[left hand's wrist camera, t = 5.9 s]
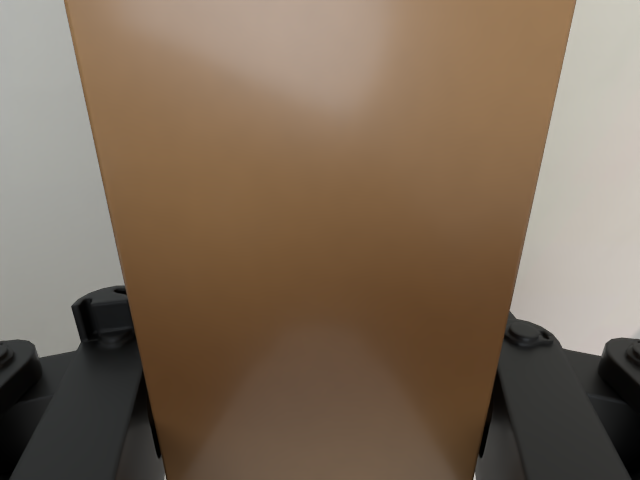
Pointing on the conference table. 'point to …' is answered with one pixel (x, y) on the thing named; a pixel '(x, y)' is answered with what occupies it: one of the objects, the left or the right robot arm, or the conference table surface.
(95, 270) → the conference table surface
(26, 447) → the left robot arm
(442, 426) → the bar
